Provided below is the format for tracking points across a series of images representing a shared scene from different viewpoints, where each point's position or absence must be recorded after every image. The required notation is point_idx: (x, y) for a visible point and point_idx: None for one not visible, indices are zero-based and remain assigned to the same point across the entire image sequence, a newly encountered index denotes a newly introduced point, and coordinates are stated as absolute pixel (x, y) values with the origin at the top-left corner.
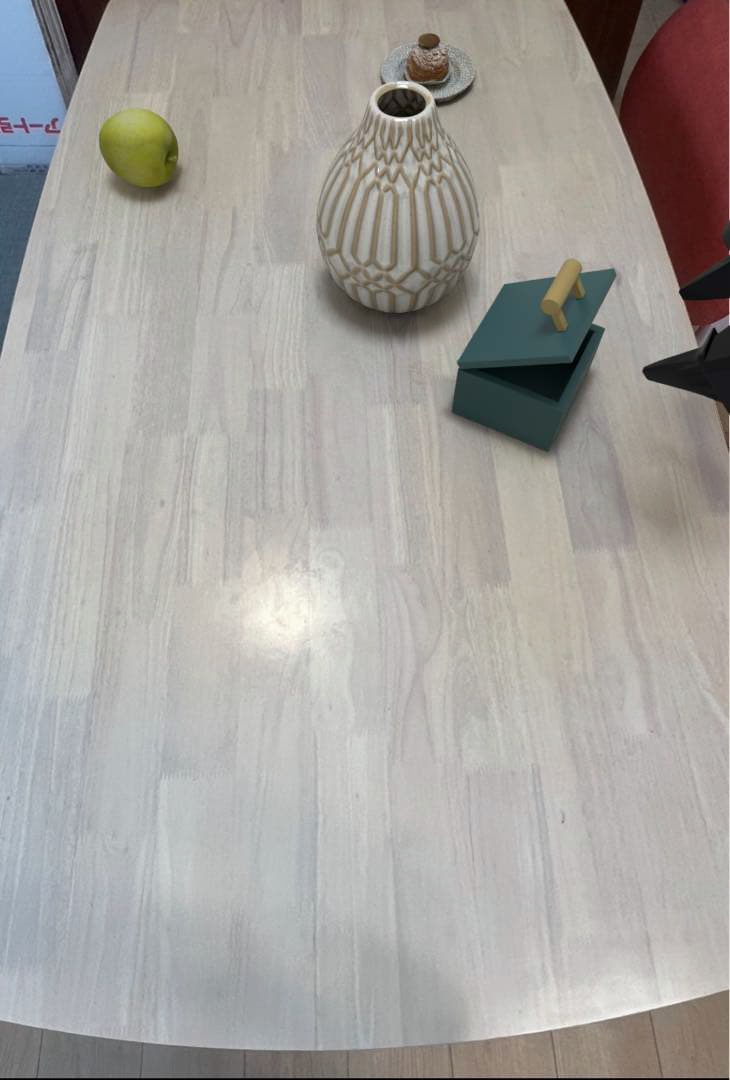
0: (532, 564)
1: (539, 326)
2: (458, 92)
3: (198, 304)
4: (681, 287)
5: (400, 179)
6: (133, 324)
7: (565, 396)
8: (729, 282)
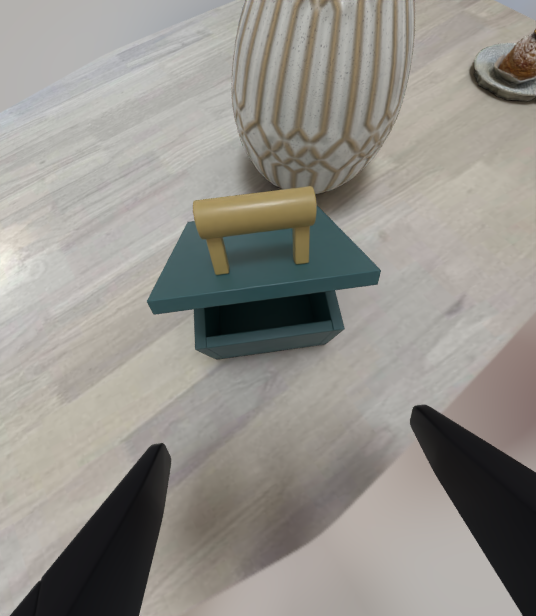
0: (92, 412)
1: (234, 250)
2: (520, 94)
3: (201, 92)
4: (426, 407)
5: None
6: (165, 78)
7: (217, 340)
8: (530, 565)
